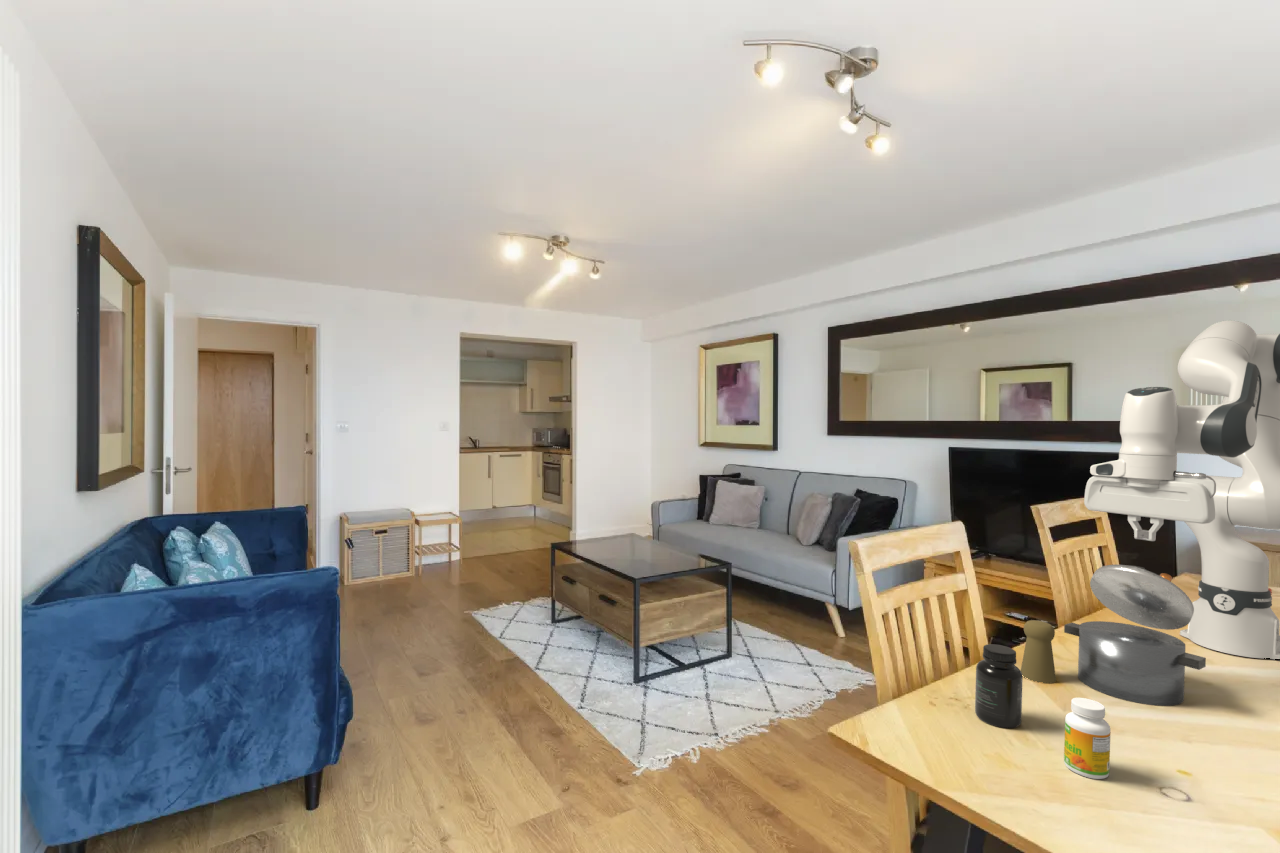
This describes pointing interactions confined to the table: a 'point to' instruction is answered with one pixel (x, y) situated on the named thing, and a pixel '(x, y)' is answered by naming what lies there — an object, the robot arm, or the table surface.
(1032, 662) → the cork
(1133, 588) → the cooker lid
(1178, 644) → the cooker pot
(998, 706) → the supplement bottle
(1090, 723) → the supplement bottle
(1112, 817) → the table surface
